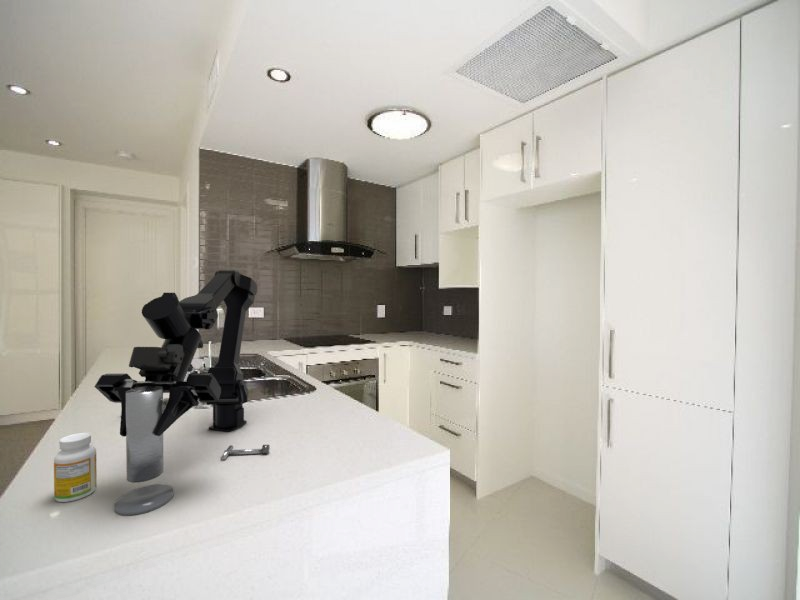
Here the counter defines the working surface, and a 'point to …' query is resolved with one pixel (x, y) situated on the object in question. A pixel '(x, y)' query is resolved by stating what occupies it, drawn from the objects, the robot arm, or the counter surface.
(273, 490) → the counter surface
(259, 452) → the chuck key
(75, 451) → the supplement bottle
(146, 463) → the grey cylindrical piece
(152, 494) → the coaster
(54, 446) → the counter surface
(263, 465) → the counter surface
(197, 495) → the counter surface
